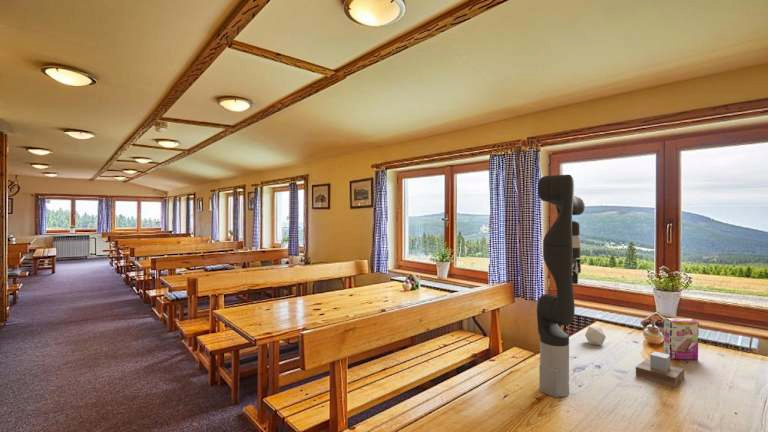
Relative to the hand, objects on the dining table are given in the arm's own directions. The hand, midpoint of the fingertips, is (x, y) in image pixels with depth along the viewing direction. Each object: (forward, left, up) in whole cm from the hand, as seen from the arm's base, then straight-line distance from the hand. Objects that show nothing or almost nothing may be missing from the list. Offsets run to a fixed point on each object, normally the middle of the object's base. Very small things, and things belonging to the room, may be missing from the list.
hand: (570, 285), depth 153 cm
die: (+30, +2, -32) cm, 44 cm away
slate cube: (+11, -28, -29) cm, 42 cm away
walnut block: (+11, -28, -33) cm, 44 cm away
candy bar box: (+40, -28, -32) cm, 59 cm away
